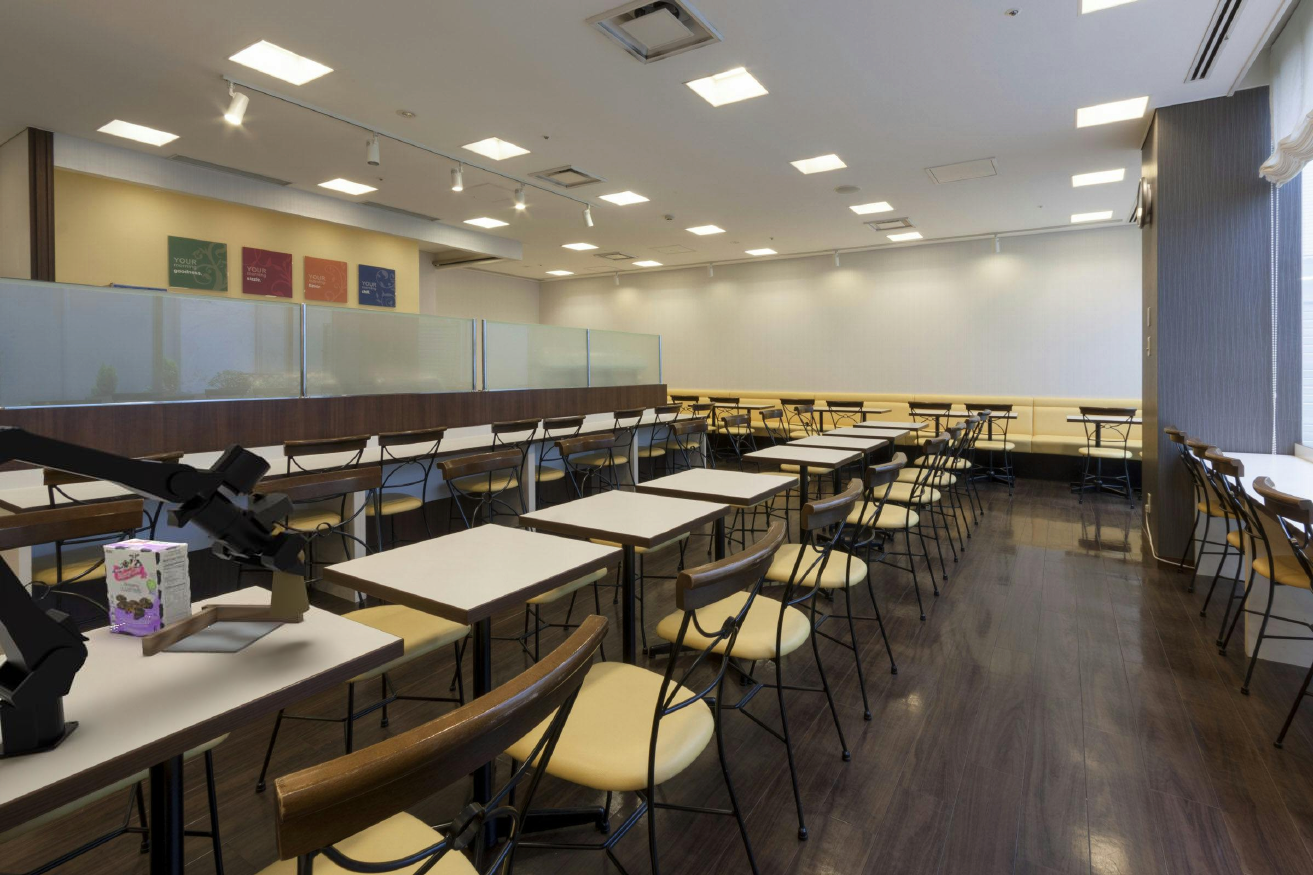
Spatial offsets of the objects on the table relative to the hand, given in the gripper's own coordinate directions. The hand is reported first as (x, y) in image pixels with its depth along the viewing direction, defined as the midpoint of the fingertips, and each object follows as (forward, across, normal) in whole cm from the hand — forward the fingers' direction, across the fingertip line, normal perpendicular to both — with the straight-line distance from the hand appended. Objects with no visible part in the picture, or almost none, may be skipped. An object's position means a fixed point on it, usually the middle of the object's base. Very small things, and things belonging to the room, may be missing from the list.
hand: (295, 571), depth 110 cm
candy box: (+3, +31, +16) cm, 35 cm away
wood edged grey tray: (+6, +15, +12) cm, 20 cm away
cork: (+4, 0, +6) cm, 7 cm away
